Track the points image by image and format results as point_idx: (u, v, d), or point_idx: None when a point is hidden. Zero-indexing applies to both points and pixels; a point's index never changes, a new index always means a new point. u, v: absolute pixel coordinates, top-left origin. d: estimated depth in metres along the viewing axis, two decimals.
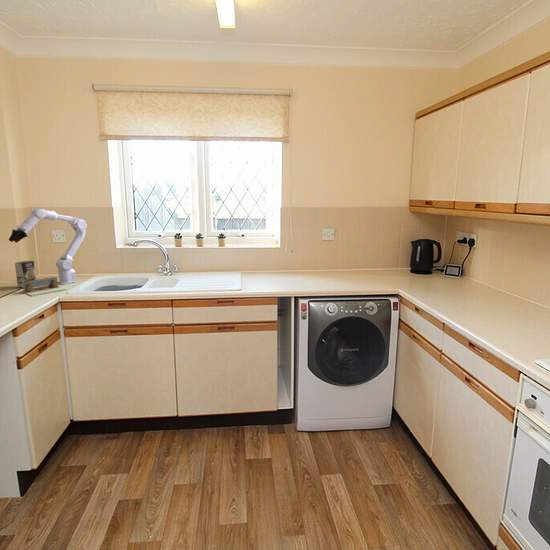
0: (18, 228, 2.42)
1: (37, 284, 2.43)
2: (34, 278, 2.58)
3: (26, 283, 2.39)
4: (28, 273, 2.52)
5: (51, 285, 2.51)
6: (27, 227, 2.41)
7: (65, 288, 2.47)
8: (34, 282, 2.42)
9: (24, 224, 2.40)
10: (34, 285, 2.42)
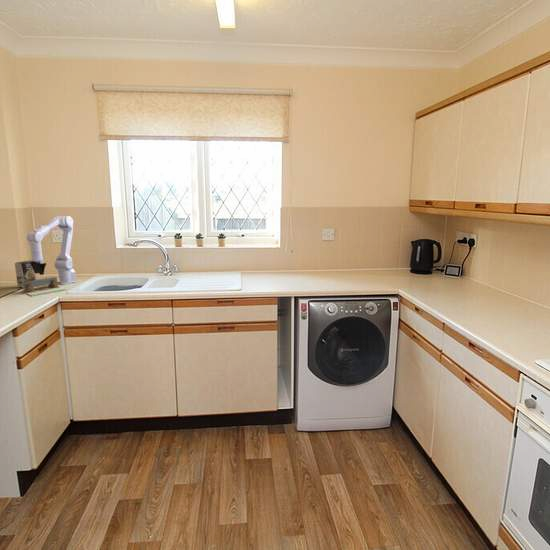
0: None
1: (37, 284, 2.43)
2: (34, 278, 2.58)
3: (26, 283, 2.39)
4: (28, 273, 2.52)
5: (51, 285, 2.51)
6: (38, 256, 2.41)
7: (65, 288, 2.47)
8: (34, 282, 2.42)
9: (34, 255, 2.40)
10: (34, 285, 2.42)
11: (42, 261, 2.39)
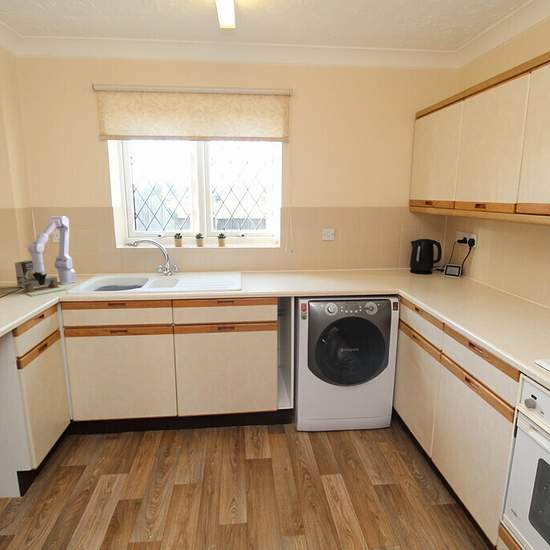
0: (34, 271, 2.44)
1: (37, 284, 2.43)
2: (34, 278, 2.58)
3: (26, 283, 2.39)
4: (28, 273, 2.52)
5: (51, 285, 2.51)
6: (40, 267, 2.43)
7: (65, 288, 2.47)
8: (34, 282, 2.42)
9: (36, 266, 2.41)
10: (34, 285, 2.42)
11: (44, 272, 2.40)
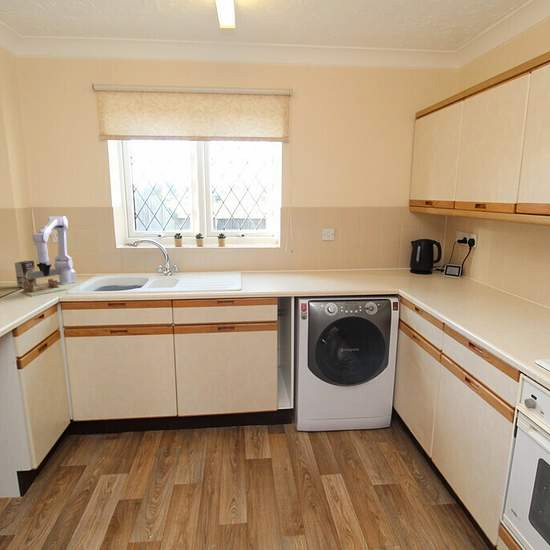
0: (38, 261, 2.37)
1: (41, 275, 2.36)
2: None
3: (30, 274, 2.32)
4: None
5: (51, 285, 2.51)
6: (45, 257, 2.35)
7: (65, 288, 2.47)
8: (38, 273, 2.35)
9: (40, 257, 2.34)
10: (38, 276, 2.35)
11: (48, 262, 2.33)
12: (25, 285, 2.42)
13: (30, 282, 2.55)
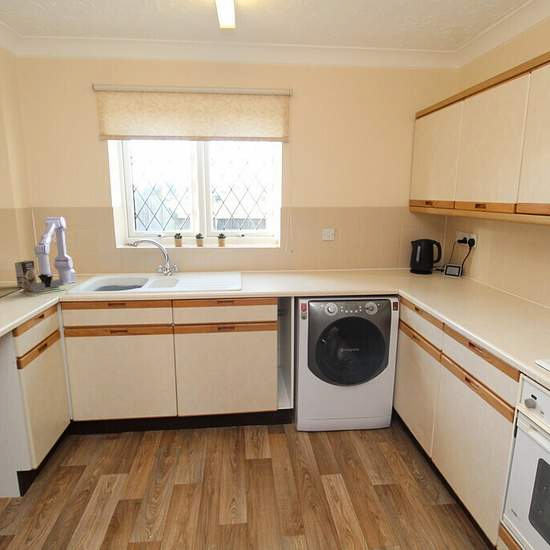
0: None
1: (43, 287, 2.38)
2: (34, 278, 2.58)
3: (32, 286, 2.33)
4: (28, 273, 2.52)
5: None
6: (46, 269, 2.37)
7: (65, 288, 2.47)
8: (40, 285, 2.36)
9: (42, 268, 2.36)
10: (40, 288, 2.36)
11: (50, 274, 2.35)
12: (25, 285, 2.42)
13: (30, 282, 2.55)
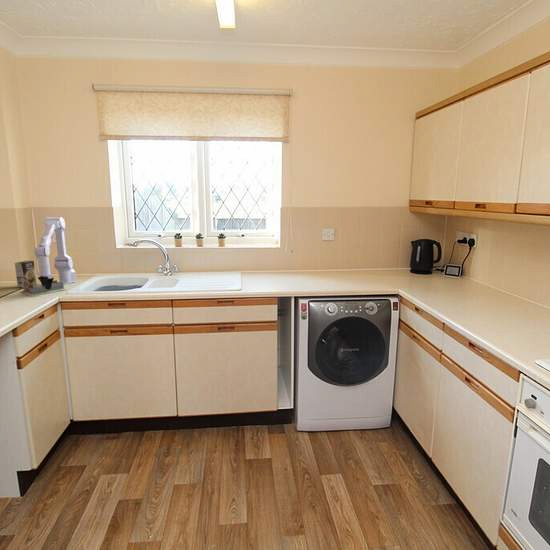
0: None
1: (43, 290, 2.38)
2: (34, 278, 2.58)
3: (32, 289, 2.33)
4: (28, 273, 2.52)
5: None
6: (46, 271, 2.37)
7: (65, 288, 2.47)
8: (40, 288, 2.37)
9: (42, 270, 2.36)
10: (40, 291, 2.37)
11: (50, 276, 2.35)
12: (25, 285, 2.42)
13: (30, 282, 2.55)
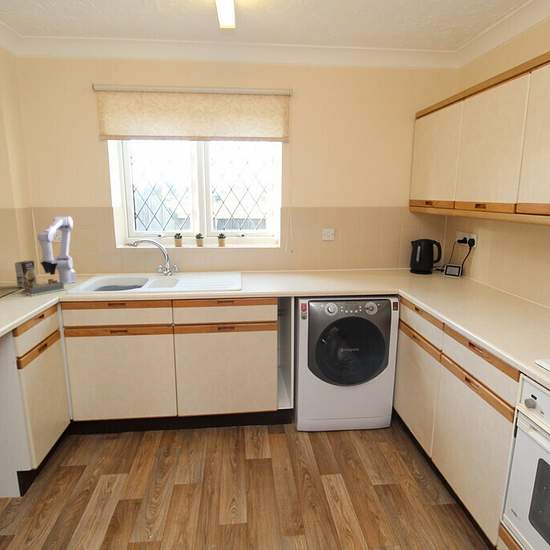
0: None
1: (43, 290, 2.38)
2: (34, 278, 2.58)
3: (32, 289, 2.33)
4: (28, 273, 2.52)
5: None
6: (49, 256, 2.43)
7: (65, 288, 2.47)
8: (40, 288, 2.37)
9: (45, 255, 2.41)
10: (40, 291, 2.37)
11: (53, 261, 2.40)
12: (25, 285, 2.42)
13: (30, 282, 2.55)
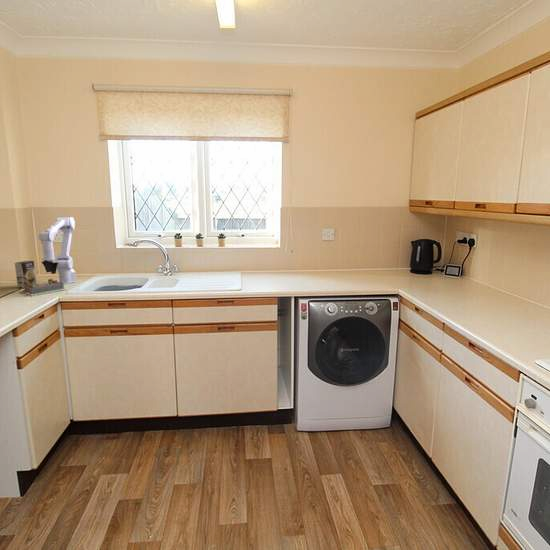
0: None
1: (43, 290, 2.38)
2: (34, 278, 2.58)
3: (32, 289, 2.33)
4: (28, 273, 2.52)
5: None
6: (51, 255, 2.44)
7: (65, 288, 2.47)
8: (40, 288, 2.37)
9: (46, 255, 2.43)
10: (40, 291, 2.37)
11: (54, 260, 2.42)
12: (25, 285, 2.42)
13: (30, 282, 2.55)
